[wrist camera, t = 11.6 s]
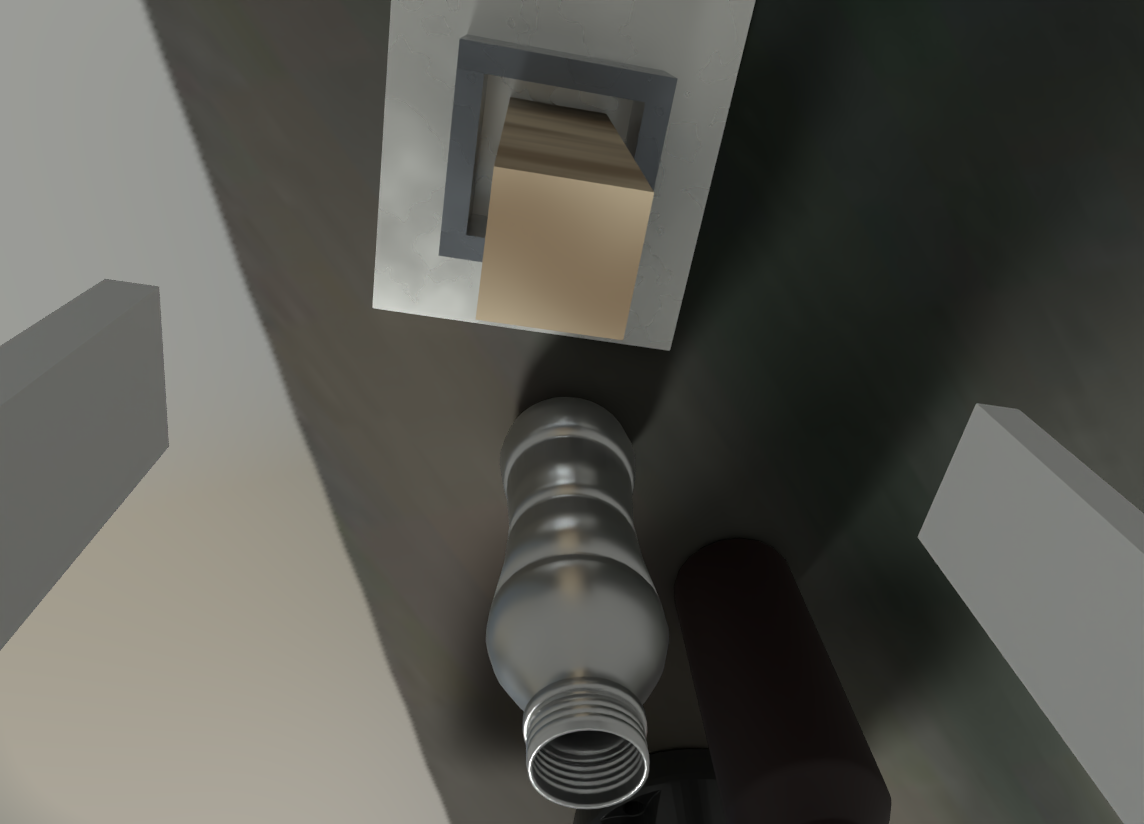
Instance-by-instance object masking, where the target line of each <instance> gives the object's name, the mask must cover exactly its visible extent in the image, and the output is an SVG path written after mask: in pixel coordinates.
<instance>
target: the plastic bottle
mask: <svg viewBox="0 0 1144 824" xmlns="http://www.w3.org/2000/svg"><path fill="white" fill-rule="evenodd" d="M500 469H501V476H502V482H503V488H504V492H505V495H506V498H507V504H508V517H509V532H508V540H507V546H506V553H505V560H504V565H503V568H502V572H501V575H500V578H499V582H498V585H497V588H496V592H495V595H494V598H493V602H492V605H491V608H490V612H489V618H488V623H487V629H486V645H487V650H488V655H489V658H490V661H491V664H492V667H493V670H494V673H495V675H496V677H497V679H498V681H499V683H500V685H501V686H502V687H503V688H504V690H505V691H506V692H507V693H508V695H509V696H510V697H511V698H512V699H513V700H514V702H515V703H516V704H517V705H518V706H519V707H520V708H521V709H522V710H523V711H524V713H523V737H524V741H525V743H526V766H527V772H528V776H529V779H530V781H531V783H532V785H533V787H534V788H535V789H536V790H537V791H538V793H540V794H541V795H542V796H544V797H545V798H546V799H548V800H550V801H552V802H554V803H556V804H559V805H562V806H565V807H570V808H575V809H599V808H604V807H609V806H612V805H615V804H618V803H621V802H623V801H625V800H626V799H628V798H630V797H631V796H633V795H634V794H635V793H637V792H638V791H639V790H640V788H641V787H642V786H643V785H644V783H645V781H646V779H647V777H648V773H649V764H650V761H649V752H648V746H647V740H646V737H647V732H648V731H647V721H646V715H645V711H644V708H643V704H644V703H645V701H646V700H647V699H648V697H649V696H650V694H651V693H652V691H653V689H654V688H655V686H656V685H657V683H658V681H659V679H660V677H661V675H662V673H663V670H664V665H665V660H666V656H667V650H668V645H669V627H668V624H667V621H666V617H665V614H664V610H663V607H662V604H661V601H660V598H659V597H658V594H657V591H656V589H655V587H654V584H653V582H652V580H651V577H650V575H649V572H648V570H647V568H646V565H645V563H644V561H643V558H642V555H641V551H640V547H639V543H638V540H637V537H636V532H635V528H634V524H633V503H632V495H633V490H634V484H635V472H636V462H635V453H634V450H633V446H632V443H631V442H630V440H629V438H628V436H627V435H626V433H625V431H624V429H623V428H622V426H621V424H620V422H619V421H618V420H617V419H616V418H615V417H614V416H613V415H612V414H611V413H610V412H609V411H607V410H606V409H605V408H603V407H602V406H600V405H598V404H596V403H594V402H592V401H588V400H585V399H582V398H575V397H555V398H551V399H547V400H543V401H541V402H538V403H536V404H534V405H532V406H530V407H529V408H528V409H526V410H525V411H523V412H522V413H521V414H520V415H519V416H518V417H517V419H516V420H515V421H514V423H513V424H512V426H511V428H510V429H509V431H508V434H507V436H506V438H505V440H504V443H503V446H502V449H501V452H500Z"/></svg>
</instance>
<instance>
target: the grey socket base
mask: <svg viewBox="0 0 1144 824" xmlns="http://www.w3.org/2000/svg"><path fill="white" fill-rule="evenodd" d="M755 1H756V0H391V13H390V29H389V46H388V62H387V79H386V95H385V111H384V128H383V144H382V161H381V177H380V193H379V210H378V226H377V243H376V259H375V275H374V292H373V308H375V309H382V310H389V311H396V312H403V313H410V314H417V315H424V316H431V317H438V318H445V319H452V320H459V321H466V322H473V323H480V324H487V325H494V326H501V327H508V328H515V329H522V330H529V331H536V332H543V333H550V334H556V335H563V336H570V337H577V338H584V339H591V340H598V341H605V342H612V343H619V344H626V345H633V346H640V347H647V348H654V349H661V350H668V351H670V348H671V344H672V340H673V336H674V332H675V328H676V324H677V320H678V316H679V312H680V307H681V303H682V299H683V295H684V291H685V287H686V283H687V279H688V275H689V271H690V267H691V262H692V258H693V254H694V250H695V246H696V242H697V238H698V234H699V230H700V226H701V222H702V217H703V213H704V209H705V205H706V201H707V197H708V193H709V189H710V185H711V181H712V176H713V172H714V168H715V164H716V160H717V156H718V152H719V148H720V144H721V140H722V136H723V131H724V127H725V123H726V119H727V115H728V111H729V107H730V103H731V99H732V95H733V91H734V86H735V82H736V78H737V74H738V70H739V66H740V62H741V58H742V54H743V50H744V46H745V41H746V37H747V33H748V29H749V25H750V21H751V17H752V13H753V9H754V5H755ZM510 97H513V98H519V99H524V100H530V101H536V102H542V103H547V104H553V105H559V106H565V107H571V108H576V109H582V110H588V111H594V112H600V113H605V114H607V116H608V117H609V119H610V120H611V122H612V124H613V125H614V127H615V129H616V130H617V132H618V134H619V135H620V137H621V139H622V140H623V142H624V143H625V145H626V147H627V148H628V150H629V152H630V153H631V155H632V157H633V158H634V160H635V162H636V163H637V165H638V166H639V168H640V170H641V171H642V173H643V175H644V176H645V178H646V180H647V181H648V183H649V185H650V186H651V188H652V189H653V191H654V196H653V201H652V206H651V211H650V215H649V220H648V225H647V230H646V234H645V239H644V244H643V249H642V253H641V258H640V263H639V268H638V272H637V277H636V282H635V287H634V291H633V296H632V301H631V306H630V310H629V315H628V320H627V324H626V329H625V334H624V339H623V340H617V339H610V338H602V337H595V336H588V335H581V334H574V333H567V332H560V331H553V330H546V329H539V328H531V327H524V326H517V325H510V324H503V323H496V322H489V321H482V320H476V311H477V303H478V295H479V286H480V278H481V270H482V261H483V253H484V244H485V236H486V228H487V219H488V211H489V203H490V194H491V186H492V177H493V169H494V164H495V159H496V155H497V151H498V147H499V143H500V138H501V134H502V130H503V126H504V122H505V117H506V113H507V109H508V105H509V101H510Z"/></svg>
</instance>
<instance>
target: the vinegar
mask: <svg viewBox="0 0 1144 824" xmlns="http://www.w3.org/2000/svg"><path fill="white" fill-rule="evenodd" d="M674 595H675V604H676V608H677V613H678V617H679V621H680V626H681V630H682V634H683V638H684V643H685V647H686V651H687V656H688V660H689V664H690V669H691V673H692V677H693V681H694V686H695V690H696V694H697V699H698V703H699V707H700V712H701V716H702V720H703V724H704V729H705V733H706V737H707V742H708V746H709V750H710V755H711V759H712V763H713V767H714V772H715V776H716V780H717V785H718V789H719V793H720V798H721V802H722V806H723V810H724V815H725V819H726V823H727V824H889V820H890V811H891V797H890V794H889V791H888V789H887V787H886V784H885V782H884V779H883V777H882V775H881V773H880V770H879V768H878V766H877V764H876V761H875V759H874V757H873V755H872V752H871V750H870V748H869V746H868V744H867V741H866V739H865V737H864V735H863V732H862V730H861V728H860V726H859V723H858V721H857V719H856V717H855V714H854V712H853V710H852V708H851V705H850V703H849V701H848V699H847V696H846V694H845V692H844V690H843V687H842V685H841V683H840V681H839V678H838V676H837V674H836V672H835V669H834V667H833V665H832V663H831V660H830V658H829V656H828V654H827V651H826V649H825V647H824V645H823V643H822V640H821V638H820V636H819V634H818V631H817V629H816V627H815V625H814V622H813V620H812V618H811V616H810V613H809V611H808V609H807V607H806V604H805V602H804V600H803V598H802V595H801V593H800V591H799V589H798V586H797V584H796V582H795V580H794V577H793V575H792V573H791V571H790V568H789V566H788V564H787V562H786V560H785V559H784V558H783V557H782V556H781V555H780V554H779V553H778V552H777V551H776V550H775V549H774V548H773V547H771V546H768V545H766V544H764V543H762V542H760V541H757V540H750V539H743V538H736V539H728V540H721V541H718V542H716V543H713V544H710V545H708V546H705V547H703V548H702V549H700V550H699V551H698V552H696V553H695V554H694V555H692V556H691V557H689V559H688V560H687V561H686V562H685V564H684V565H683V566H682V568H681V569H680V570H679V573H678V576H677V579H676V582H675V585H674Z"/></svg>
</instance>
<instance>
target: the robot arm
mask: <svg viewBox="0 0 1144 824" xmlns="http://www.w3.org/2000/svg"><path fill="white" fill-rule="evenodd" d="M164 376H165V375H164V359H163V343H162V327H161V311H160V294H159V287H158V286H151V285H143V284H137V283H130V282H123V281H116V280H109V279H104V280H103V281H101V282H99V283H98V284H96V285H95V286H93V287H92V288H90V289H89V290H87V291H86V292H84V293H82V294H81V295H79V296H78V297H76V298H74V299H73V300H72V301H70V302H68V303H67V304H65V305H64V306H62V307H61V308H59V309H57V310H56V311H54V312H53V313H51V314H49V315H48V316H46V317H45V318H43V319H42V320H40V321H39V322H37V323H36V324H34V325H32V326H31V327H29V328H28V329H26V330H25V331H23V332H21V333H20V334H18V335H17V336H15V337H14V338H12V339H10V340H9V341H7V342H6V343H4V344H3V345H1V346H0V650H1V649H2V648H3V647H4V645H5V644H6V643H7V642H8V641H9V639H10V638H11V637H12V636H13V634H14V633H15V632H16V631H17V630H18V628H19V627H20V626H21V625H22V623H23V622H24V621H25V620H26V619H27V617H28V616H29V615H30V614H31V613H32V611H33V610H34V609H35V608H36V607H37V605H38V604H39V603H40V602H41V601H42V599H43V598H44V597H45V596H46V594H47V593H48V592H49V591H50V590H51V588H52V587H53V586H54V585H55V584H56V582H57V581H58V580H59V579H60V578H61V576H62V575H63V574H64V573H65V571H66V570H67V569H68V568H69V567H70V565H71V564H72V563H73V562H74V561H75V559H76V558H77V557H78V556H79V555H80V553H81V552H82V551H83V549H85V547H86V546H87V545H88V544H89V542H90V541H91V540H92V539H93V538H94V536H95V535H96V534H97V533H98V531H99V530H100V529H101V528H102V527H103V525H104V524H105V523H106V522H107V521H108V519H109V518H110V517H111V516H112V515H113V513H114V512H115V511H116V509H118V507H119V506H120V505H121V504H122V503H123V501H124V500H125V499H126V498H127V496H128V495H129V494H130V493H131V492H132V490H133V489H134V488H135V487H136V486H137V484H138V483H139V482H140V481H141V479H142V478H143V477H144V476H145V475H146V473H147V472H148V471H149V470H150V469H151V467H152V466H153V465H154V464H155V462H156V461H157V460H158V459H159V458H160V457H161V455H162V454H163V453H164V451H165V450H166V449H167V448H168V447H169V443H168V442H169V441H168V425H167V410H166V409H167V408H166V393H165V377H164ZM918 538H919V540H920V541H921V543H922V544H923V545H924V547H925V548H926V550H927V551H928V552H929V554H930V555H931V556H932V558H933V559H934V561H935V562H936V563H937V565H938V566H939V568H940V569H941V570H942V572H943V573H944V574H945V576H946V577H947V579H948V580H949V581H950V583H951V584H952V586H953V587H954V588H955V590H956V591H957V593H958V594H959V595H960V597H961V598H962V599H963V601H964V602H965V604H966V605H967V606H968V608H969V609H970V611H971V612H972V613H973V615H974V616H975V618H976V619H977V620H978V622H979V623H980V624H981V626H982V627H983V629H984V630H985V631H986V633H987V634H988V636H989V637H990V638H991V640H992V641H993V642H994V644H995V645H996V647H997V648H998V649H999V651H1000V652H1001V654H1002V655H1003V656H1004V658H1005V659H1006V661H1007V662H1008V663H1009V665H1010V666H1011V667H1012V669H1013V670H1014V672H1015V673H1016V674H1017V676H1018V677H1019V679H1020V680H1021V681H1022V683H1023V684H1024V686H1025V687H1026V688H1027V690H1028V691H1029V692H1030V694H1031V695H1032V697H1033V698H1034V699H1035V701H1036V702H1037V704H1038V705H1039V706H1040V708H1041V709H1042V710H1043V712H1044V713H1045V715H1046V716H1047V717H1048V719H1049V720H1050V722H1051V723H1052V724H1053V726H1054V727H1055V729H1056V730H1057V731H1058V733H1059V734H1060V735H1061V737H1062V738H1063V740H1064V741H1065V742H1066V744H1067V745H1068V747H1069V748H1070V749H1071V751H1072V752H1073V754H1074V755H1075V756H1076V758H1077V759H1078V760H1079V762H1080V763H1081V765H1082V766H1083V767H1084V769H1085V770H1086V772H1087V773H1088V774H1089V776H1090V777H1091V779H1092V780H1093V781H1094V783H1095V784H1096V785H1097V787H1098V788H1099V790H1100V791H1101V792H1102V794H1103V795H1104V797H1105V798H1106V799H1107V801H1108V802H1109V803H1110V805H1111V806H1112V808H1113V809H1114V810H1115V812H1116V813H1117V815H1118V816H1119V817H1120V819H1121V820H1122V822H1123V823H1124V824H1144V514H1143V513H1142V512H1141V511H1140V510H1139V509H1137V508H1136V507H1135V506H1134V505H1133V504H1131V503H1130V502H1129V501H1128V500H1127V499H1125V498H1124V497H1123V496H1122V495H1121V494H1120V493H1118V492H1117V491H1116V490H1115V489H1114V488H1112V487H1111V486H1110V485H1109V484H1108V483H1106V482H1105V481H1104V480H1103V479H1102V478H1100V477H1099V476H1098V475H1097V474H1096V473H1094V472H1093V471H1092V470H1091V469H1090V468H1088V467H1087V466H1086V465H1085V464H1084V463H1082V462H1081V461H1080V460H1079V459H1078V458H1076V457H1075V456H1074V455H1073V454H1072V453H1070V452H1069V451H1068V450H1067V449H1066V448H1064V447H1063V446H1062V445H1061V444H1060V443H1058V442H1057V441H1056V440H1055V439H1054V438H1052V437H1051V436H1050V435H1049V434H1048V433H1046V432H1045V431H1044V430H1043V429H1042V428H1040V427H1039V426H1038V425H1037V424H1036V423H1034V422H1033V421H1032V420H1031V419H1030V418H1028V417H1027V416H1026V415H1025V414H1024V413H1022V412H1021V411H1020V410H1019V409H1014V408H1007V407H1000V406H993V405H986V404H979V403H976V405H975V407H974V410H973V412H972V414H971V417H970V419H969V421H968V423H967V426H966V428H965V430H964V432H963V435H962V437H961V439H960V442H959V444H958V446H957V448H956V451H955V453H954V455H953V457H952V460H951V462H950V464H949V467H948V469H947V471H946V473H945V476H944V478H943V480H942V483H941V485H940V487H939V489H938V492H937V494H936V496H935V498H934V501H933V503H932V505H931V508H930V510H929V512H928V514H927V517H926V519H925V521H924V524H923V526H922V528H921V530H920V533H919V535H918ZM649 761H650V764H649V773H648V777H647V779H646V781H645V783H644V785H643V786H642V787H641V788H640V790H639V791H638V792H637V793H635V794H634V795H633V796H631V797H630V798H628V799H626V800H625V801H623V802H621V803H618V804H615V805H612V806H609V807H604V808H599V809H577V811H576V814H575V817H574V822H573V824H727V823H726V819H725V815H724V810H723V806H722V802H721V798H720V793H719V789H718V785H717V780H716V776H715V772H714V767H713V763H712V759H711V755H710V750H707V749H682V750H672V751H666V752H661V753H656V754H652V755H649Z"/></svg>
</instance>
